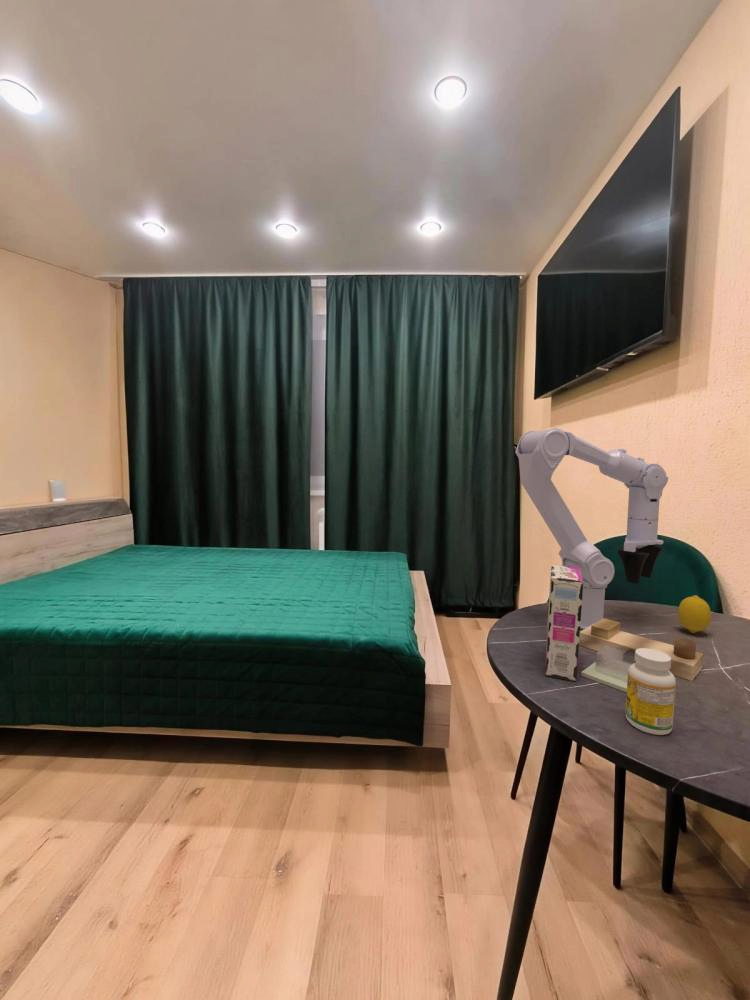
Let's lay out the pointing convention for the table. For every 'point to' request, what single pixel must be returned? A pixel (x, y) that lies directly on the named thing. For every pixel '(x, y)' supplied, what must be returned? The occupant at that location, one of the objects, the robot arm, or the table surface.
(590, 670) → the felt mat
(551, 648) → the candy bar box
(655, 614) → the table surface
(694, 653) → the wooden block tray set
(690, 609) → the lemon
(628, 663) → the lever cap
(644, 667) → the supplement bottle
